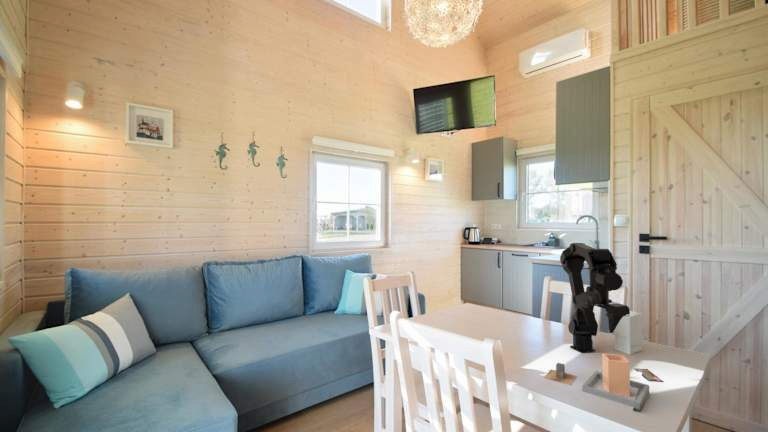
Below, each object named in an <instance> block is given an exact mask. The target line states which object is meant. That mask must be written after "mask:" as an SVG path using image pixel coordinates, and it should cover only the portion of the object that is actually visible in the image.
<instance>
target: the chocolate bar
mask: <svg viewBox="0 0 768 432" xmlns="http://www.w3.org/2000/svg"><path fill="white" fill-rule="evenodd" d="M633 370H635V371H636V372H638V373H642V374H641V376H642V377H643V378H644V379H645V380H647V381H648V382H659V383H664V382H665V381H664V380H662V379H661V378H659V376H657V375H655V374H654V373H653V372H651V370H649V369H648V368H633Z"/></svg>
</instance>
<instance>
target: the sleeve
mask: <svg viewBox="0 0 768 432" xmlns="http://www.w3.org/2000/svg"><path fill="white" fill-rule="evenodd" d="M601 355H602V356H601V361H602V363H601V367H602V379H601V380H602V387H603V389H605V390H604V391H606V392H609V393H612V394H616V395H619V396H623V397H628V398H629V397H631V387H630V380H631V377H630V376H631V372H630V371H631V369H630V368H631V367H630V366H631V364H630V361H629V360H628V358H626V357H625V356H624V355H622V354H613V353H602V354H601Z"/></svg>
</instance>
